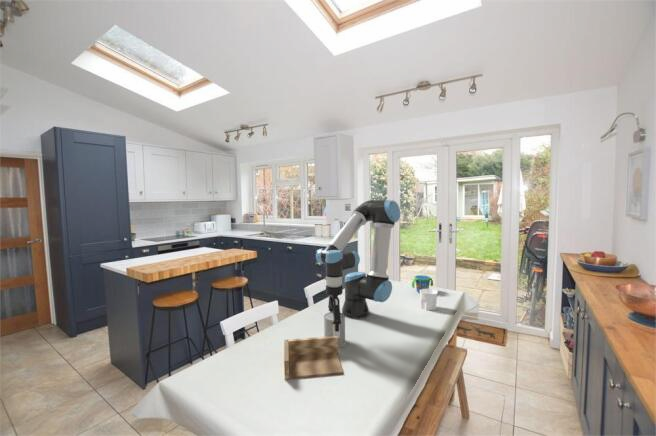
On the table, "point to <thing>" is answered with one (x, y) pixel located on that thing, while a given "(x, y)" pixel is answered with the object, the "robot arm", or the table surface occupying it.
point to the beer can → (329, 327)
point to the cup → (428, 299)
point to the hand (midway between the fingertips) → (334, 331)
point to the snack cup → (422, 282)
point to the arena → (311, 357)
